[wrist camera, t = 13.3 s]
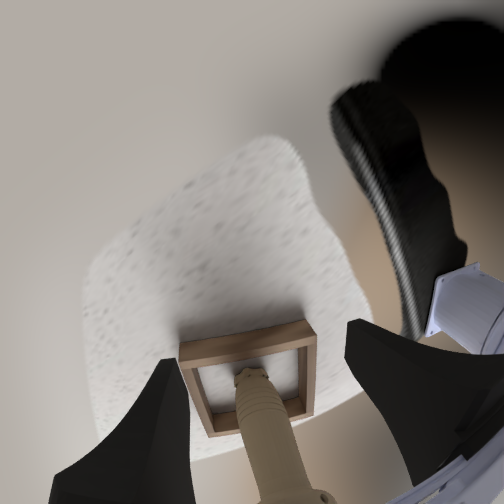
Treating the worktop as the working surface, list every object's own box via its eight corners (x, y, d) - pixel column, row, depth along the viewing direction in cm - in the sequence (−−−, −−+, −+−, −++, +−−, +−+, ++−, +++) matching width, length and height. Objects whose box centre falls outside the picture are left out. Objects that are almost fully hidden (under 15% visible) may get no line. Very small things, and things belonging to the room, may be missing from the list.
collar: (305, 319, 23) (319, 339, 20) (305, 399, 26) (315, 419, 23) (179, 343, 21) (178, 367, 18) (206, 420, 25) (209, 442, 22)
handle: (242, 345, 22) (293, 510, 8) (291, 374, 24) (354, 505, 10) (207, 378, 23) (229, 532, 9) (257, 403, 25) (298, 531, 11)
